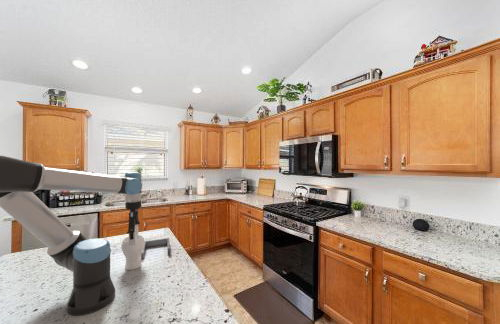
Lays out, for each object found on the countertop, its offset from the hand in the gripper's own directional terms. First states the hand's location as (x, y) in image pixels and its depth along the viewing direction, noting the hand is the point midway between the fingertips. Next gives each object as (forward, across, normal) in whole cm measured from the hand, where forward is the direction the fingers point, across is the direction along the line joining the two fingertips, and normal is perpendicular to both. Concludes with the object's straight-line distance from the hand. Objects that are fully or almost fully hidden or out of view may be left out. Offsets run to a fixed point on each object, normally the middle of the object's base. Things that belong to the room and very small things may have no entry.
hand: (134, 240), depth 110 cm
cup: (+14, 0, 0) cm, 14 cm away
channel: (+14, +16, -10) cm, 23 cm away
